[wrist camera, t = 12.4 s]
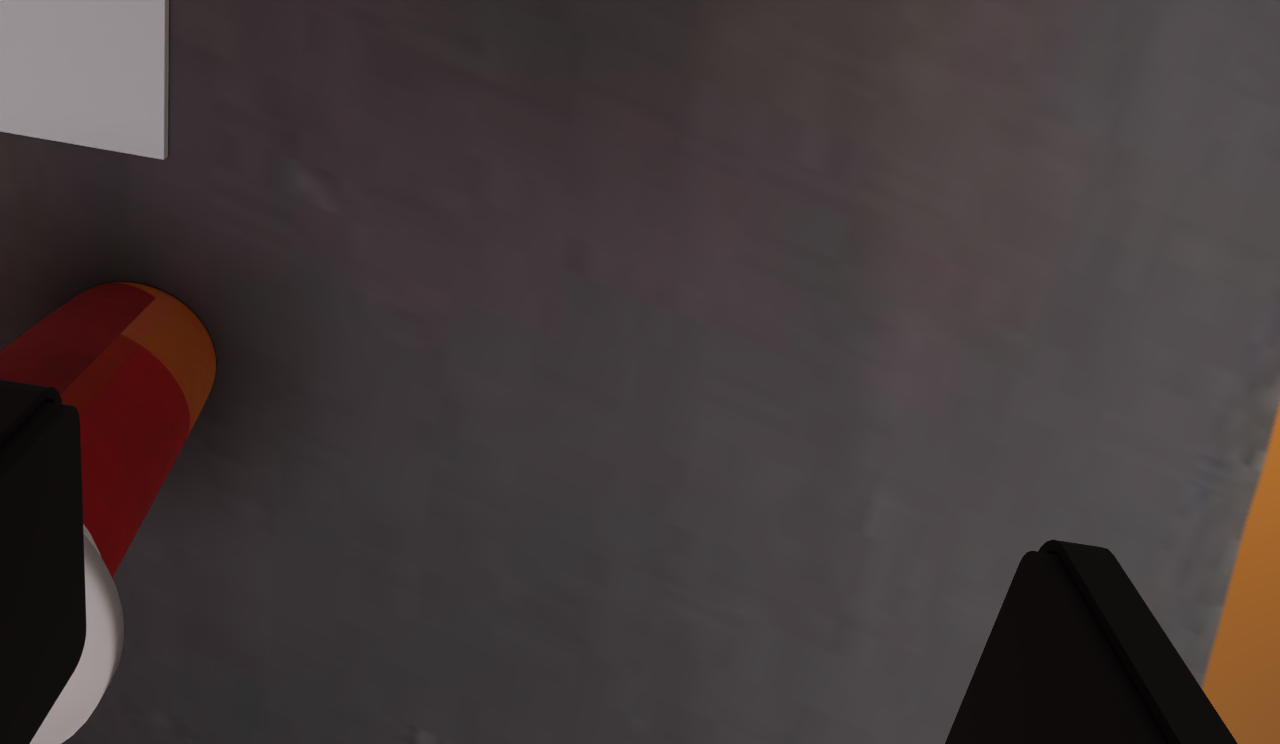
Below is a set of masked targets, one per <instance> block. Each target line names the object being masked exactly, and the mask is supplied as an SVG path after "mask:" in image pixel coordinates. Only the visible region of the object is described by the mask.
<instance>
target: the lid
mask: <svg viewBox="0 0 1280 744" xmlns="http://www.w3.org/2000/svg"><path fill="white" fill-rule="evenodd" d="M84 564H85V596H86V639H85V645H84V648H83V652H82V655H81V658H80V661H79V663H78V665H77V667H76V669H75V671H74V673H73V674H72V676H71V678H70V679H69V681H68V682H67V684H66V686H65V687H64V689H63V690H62V692H61V694H60V695H59V697H58V699H57V700H56V702H55V703H54V705H53V707H52V708H51V710H50V711H49V713H48V715H47V716H46V718H45V720H44V721H43V723H42V724H41V726H40V728H39V729H38V731H37V733H36V734H35V736H34V737H33V739H32V741H31V742H30V744H61V743H63V742H64V741H65V740H67V739H68V738H70V737H71V736H72V735H73V734H74V733H75V732H76V731H77V730H78V729H79V728H80V727H81V726H82V725H83V724H84V723H85V722H86V721H87V720H88V718H89V717H90V715H91V714H92V712H93V711H94V709H95V708H96V706H97V705H98V703H99V701H100V699H101V698H102V696H103V694H104V692H105V691H106V689H107V687H108V685H109V684H110V682H111V680H112V678H113V676H114V673H115V671H116V669H117V667H118V664H119V661H120V657H121V652H122V648H123V638H124V622H123V613H122V607H121V603H120V599H119V596H118V592H117V589H116V586H115V584H114V582H113V579H112V577H111V575H110V573H109V570H108V568H107V566H106V565H105V563H104V562H103V560H102V558H101V557H100V555H99V553H98V552H97V550H96V548H95V547H94V546H93V545H92V543H91V542H90V541H89V540H88V538H87V537H86V536H85V535H84Z"/></svg>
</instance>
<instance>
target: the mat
mask: <svg viewBox="0 0 1280 744" xmlns="http://www.w3.org/2000/svg"><path fill="white" fill-rule="evenodd" d="M168 76H169V0H0V131H1V132H7V133H13V134H19V135H24V136H30V137H36V138H42V139H47V140H53V141H59V142H65V143H70V144H76V145H82V146H88V147H93V148H99V149H105V150H111V151H116V152H122V153H128V154H134V155H139V156H145V157H151V158H157V159H162V160H164V159H165V158H167V157H168Z"/></svg>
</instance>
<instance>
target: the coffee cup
mask: <svg viewBox="0 0 1280 744" xmlns="http://www.w3.org/2000/svg"><path fill="white" fill-rule="evenodd" d="M215 373H216V354H215V349H214V345H213V343H212V340H211V337H210V335H209V333H208V331H207V329H206V328H205V326H204V325H203V323H202V322H201V321H200V319H199V318H198V317H197V316H196V314H195V313H194V312H193V311H192V310H191V309H190V308H188V307H187V306H186V305H185V304H184V303H182V302H181V301H180V300H178V299H177V298H175V297H174V296H172V295H170V294H168V293H166V292H164V291H162V290H160V289H158V288H155V287H152V286H148V285H145V284H140V283H134V282H112V283H106V284H102V285H99V286H95V287H93V288H91V289H88V290H86V291H84V292H82V293H81V294H79V295H77V296H76V297H74V298H73V299H71V300H70V301H68V302H67V303H65V304H64V305H62V306H61V307H59V308H58V309H56V310H55V311H54V312H52V313H51V314H49V315H48V316H47V317H45V318H44V319H43V320H41V321H40V322H38V323H37V324H36V325H34V326H33V327H32V328H30V329H29V330H27V331H26V332H25V333H23V334H22V335H21V336H19V337H18V338H17V339H15V340H14V341H13V342H11V343H10V344H9V345H7V346H6V347H4V348H3V349H2V350H0V379H3V380H10V381H16V382H23V383H29V384H36V385H42V386H49V387H54V388H55V389H56V390H57V391H58V392H59V394H60V397H61V399H62V404H65V405H72V406H74V407H75V408H77V410H78V413H79V418H80V436H81V468H82V500H83V532H84V535H85V536H86V537H87V538H88V540H89V541H90V542H91V543H92V545H93V546H94V547H95V548H96V550H97V552H98V553H99V555H100V557H101V558H102V560H103V562H104V563H105V565H106V566H107V568H108V570H109V573H110V575H111V577H112V578H113V576H114V574H115V572H116V570H117V569H118V567H119V565H120V563H121V561H122V559H123V557H124V555H125V554H126V552H127V550H128V548H129V546H130V544H131V542H132V541H133V539H134V537H135V535H136V533H137V531H138V529H139V528H140V526H141V524H142V522H143V520H144V518H145V516H146V515H147V513H148V511H149V509H150V507H151V505H152V503H153V502H154V500H155V498H156V496H157V494H158V492H159V490H160V488H161V487H162V485H163V483H164V481H165V479H166V477H167V475H168V473H169V472H170V470H171V468H172V466H173V464H174V462H175V460H176V458H177V456H178V455H179V453H180V451H181V449H182V447H183V445H184V443H185V441H186V439H187V437H188V435H189V433H190V432H191V430H192V428H193V426H194V424H195V422H196V420H197V418H198V416H199V414H200V412H201V410H202V408H203V406H204V404H205V402H206V400H207V398H208V395H209V393H210V391H211V388H212V385H213V382H214V378H215Z"/></svg>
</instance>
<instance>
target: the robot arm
mask: <svg viewBox="0 0 1280 744" xmlns="http://www.w3.org/2000/svg"><path fill="white" fill-rule="evenodd" d="M85 639H86V596H85V564H84V532H83V500H82V468H81V436H80V418H79V413H78V410H77V408H75V407H74V406H72V405H65V404H62V399H61V397H60V394H59V392H58V391H57V390H56V389H55V388H54V387H49V386H42V385H36V384H29V383H23V382H16V381H10V380H3V379H0V744H30V742H31V741H32V739H33V737H34V736H35V734H36V733H37V731H38V729H39V728H40V726H41V724H42V723H43V721H44V720H45V718H46V716H47V715H48V713H49V711H50V710H51V708H52V707H53V705H54V703H55V702H56V700H57V699H58V697H59V695H60V694H61V692H62V690H63V689H64V687H65V686H66V684H67V682H68V681H69V679H70V678H71V676H72V674H73V673H74V671H75V669H76V667H77V665H78V663H79V661H80V658H81V655H82V652H83V648H84V645H85ZM945 744H1237V742H1236V741H1235V739H1234V738H1233V736H1232V734H1231V733H1230V731H1229V730H1228V728H1227V727H1226V725H1225V724H1224V722H1223V721H1222V720H1221V718H1220V716H1219V715H1218V713H1217V712H1216V710H1215V709H1214V707H1213V706H1212V704H1211V703H1210V701H1209V699H1208V698H1207V697H1206V695H1205V693H1204V692H1203V690H1202V689H1201V687H1200V686H1199V684H1198V683H1197V681H1196V680H1195V678H1194V677H1193V675H1192V674H1191V672H1190V671H1189V669H1188V667H1187V666H1186V664H1185V663H1184V661H1183V660H1182V658H1181V657H1180V655H1179V654H1178V652H1177V651H1176V649H1175V648H1174V646H1173V645H1172V643H1171V642H1170V640H1169V639H1168V637H1167V636H1166V634H1165V632H1164V631H1163V629H1162V628H1161V626H1160V625H1159V623H1158V622H1157V620H1156V619H1155V617H1154V616H1153V614H1152V613H1151V611H1150V610H1149V608H1148V607H1147V605H1146V604H1145V602H1144V600H1143V599H1142V597H1141V596H1140V594H1139V593H1138V591H1137V590H1136V588H1135V587H1134V585H1133V584H1132V582H1131V581H1130V579H1129V578H1128V576H1127V575H1126V573H1125V572H1124V570H1123V569H1122V567H1121V565H1120V564H1119V562H1118V561H1117V559H1116V558H1115V556H1114V555H1113V554H1112V553H1111V552H1110V551H1109V550H1108V549H1106V548H1102V547H1096V546H1090V545H1083V544H1077V543H1070V542H1064V541H1057V540H1050V541H1047V542H1046V543H1045V544H1044V545H1043V546H1042V547H1041V548H1040V549H1039V551H1038V552H1036V551H1030V552H1027V553H1026V554H1025V555H1024V556H1023V558H1022V560H1021V561H1020V563H1019V566H1018V568H1017V571H1016V573H1015V575H1014V578H1013V580H1012V583H1011V585H1010V587H1009V590H1008V592H1007V595H1006V597H1005V600H1004V602H1003V604H1002V607H1001V609H1000V612H999V614H998V617H997V619H996V621H995V624H994V626H993V629H992V631H991V633H990V636H989V638H988V641H987V643H986V646H985V648H984V650H983V653H982V655H981V658H980V660H979V663H978V665H977V667H976V670H975V672H974V675H973V677H972V679H971V682H970V684H969V687H968V689H967V692H966V694H965V696H964V699H963V701H962V704H961V706H960V709H959V711H958V713H957V716H956V718H955V721H954V723H953V725H952V728H951V730H950V733H949V735H948V738H947V740H946V743H945Z"/></svg>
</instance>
